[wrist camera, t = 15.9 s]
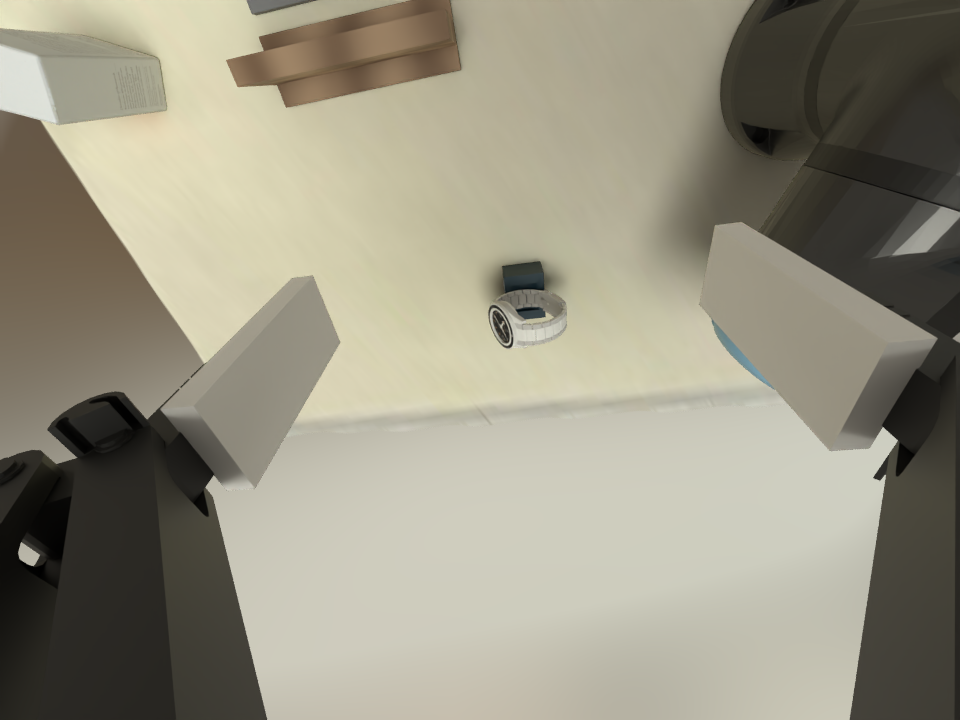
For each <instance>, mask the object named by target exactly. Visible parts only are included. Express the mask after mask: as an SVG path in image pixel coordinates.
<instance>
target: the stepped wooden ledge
mask: <svg viewBox="0 0 960 720" xmlns="http://www.w3.org/2000/svg"><path fill="white" fill-rule="evenodd" d="M259 39H260V42H261V44H262V47H263V49H264V51H263V52H258V53H254V54H250V55H246V56H241V57H237V58H233V59H229V60H226V61H227V64H228V66H229V68H230V70H231V73H232V75H233V77H234V80H235V82H236V84H237V86H238V87H247V86H265V85H277V86H278V88H279V91H280V93H281V96H282V98H283V101H284V104H285V106H286V107H292V106H297V105H301V104H306V103H310V102H315V101H320V100H324V99H329V98H333V97H338V96H343V95H347V94H352V93H356V92H361V91H366V90H370V89H375V88H379V87H384V86H389V85H393V84H398V83H403V82H407V81H412V80H416V79H421V78H426V77H430V76H435V75H439V74H444V73H449V72H453V71H458V70H461V65H460V59H459V53H458V47H457V41H456V35H455V29H454V22H453V16H452V10H451V4H450V0H410V1H406V2H402V3H398V4H394V5H390V6H385V7H381V8H377V9H373V10H369V11H365V12H360V13H356V14H352V15H348V16H344V17H340V18H335V19H331V20H327V21H323V22H319V23H315V24H310V25H306V26H302V27H298V28H294V29H290V30H286V31H281V32H277V33H273V34H269V35H265V36H261V37H259Z"/></svg>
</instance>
